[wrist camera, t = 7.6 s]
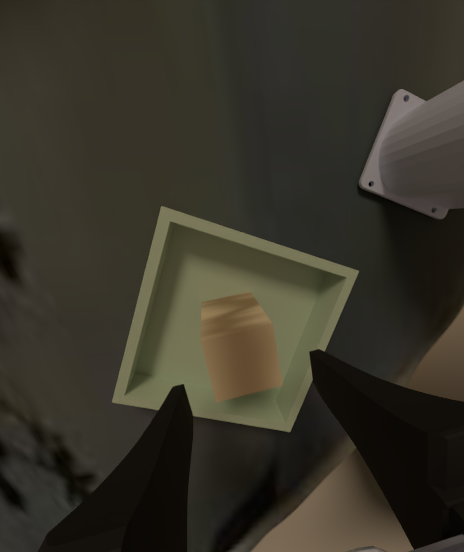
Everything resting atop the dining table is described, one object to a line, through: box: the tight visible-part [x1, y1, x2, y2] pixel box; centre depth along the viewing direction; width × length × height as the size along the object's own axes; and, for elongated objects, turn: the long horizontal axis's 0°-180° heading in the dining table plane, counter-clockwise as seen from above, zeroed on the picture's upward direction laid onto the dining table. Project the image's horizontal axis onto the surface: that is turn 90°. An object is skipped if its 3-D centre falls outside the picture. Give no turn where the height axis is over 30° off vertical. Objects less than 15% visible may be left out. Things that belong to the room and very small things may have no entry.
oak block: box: [200, 292, 283, 403], centre depth 18 cm, size 4×4×7 cm
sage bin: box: [112, 206, 359, 432], centre depth 20 cm, size 16×16×4 cm
